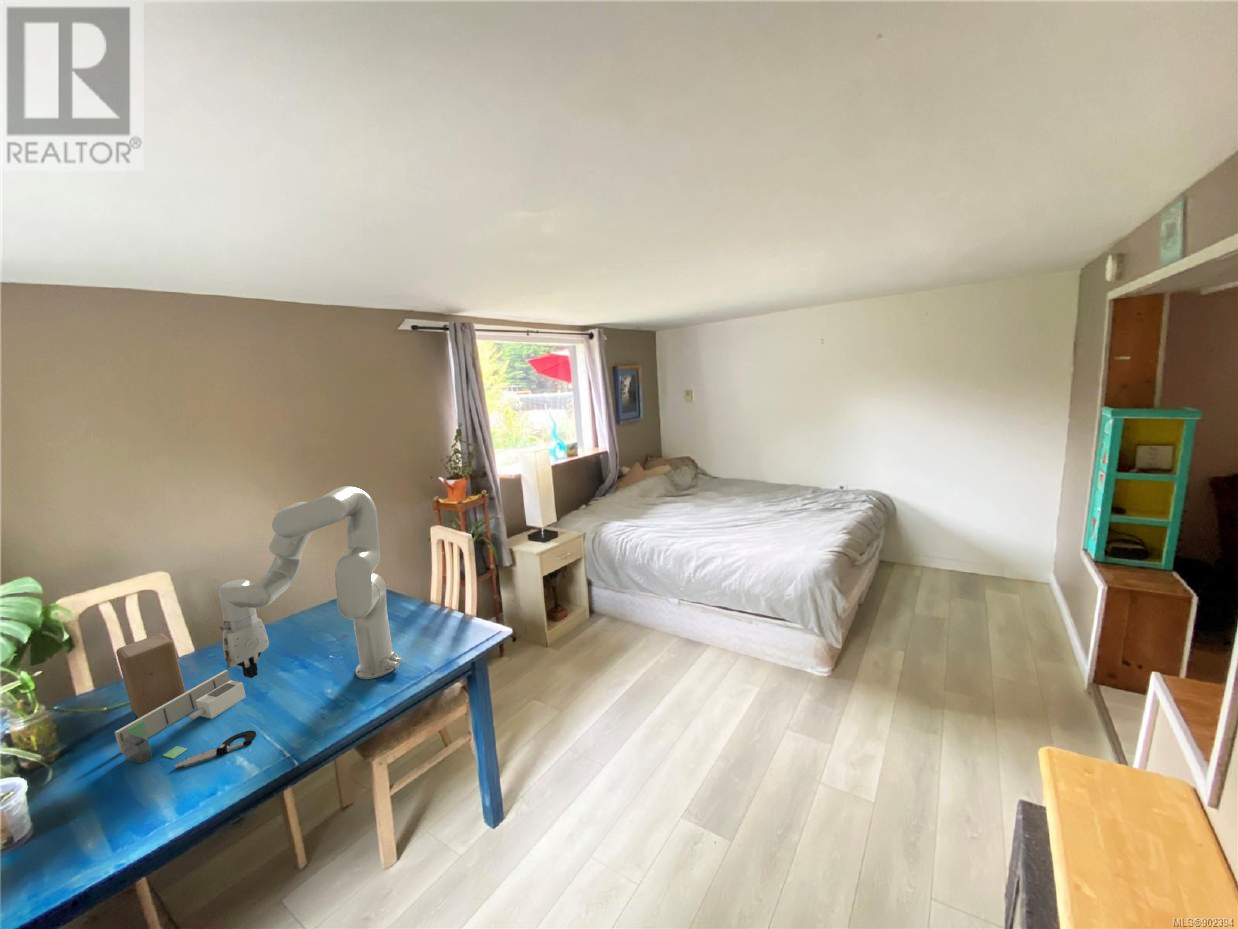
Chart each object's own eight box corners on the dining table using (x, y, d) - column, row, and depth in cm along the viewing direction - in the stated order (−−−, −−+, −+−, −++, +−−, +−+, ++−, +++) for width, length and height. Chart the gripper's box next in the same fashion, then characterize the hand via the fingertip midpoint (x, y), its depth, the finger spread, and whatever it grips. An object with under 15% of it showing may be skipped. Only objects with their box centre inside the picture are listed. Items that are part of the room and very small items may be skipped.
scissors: (259, 728, 122) (257, 720, 122) (253, 746, 116) (251, 737, 115) (185, 752, 115) (183, 744, 114) (175, 773, 109) (173, 764, 108)
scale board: (232, 688, 139) (228, 670, 138) (123, 753, 115) (117, 733, 114) (229, 687, 139) (225, 670, 138) (120, 752, 115) (114, 732, 114)
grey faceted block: (152, 757, 113) (147, 737, 112) (142, 764, 111) (136, 743, 110) (136, 753, 115) (131, 733, 114) (126, 759, 113) (120, 739, 112)
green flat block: (187, 749, 115) (187, 749, 115) (173, 759, 112) (173, 758, 112) (177, 746, 116) (176, 746, 116) (162, 756, 113) (162, 755, 113)
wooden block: (141, 723, 125) (123, 658, 122) (131, 710, 130) (114, 648, 127) (188, 701, 133) (173, 640, 130) (177, 690, 139) (163, 631, 135)
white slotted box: (246, 697, 134) (242, 682, 133) (199, 727, 123) (195, 710, 122) (234, 695, 136) (230, 679, 135) (186, 724, 124) (182, 707, 124)
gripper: (222, 636, 127) (233, 694, 130) (275, 610, 141) (284, 663, 145) (203, 632, 129) (215, 689, 133) (257, 607, 143) (266, 659, 147)
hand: (251, 675), depth 139 cm, fingers closed
